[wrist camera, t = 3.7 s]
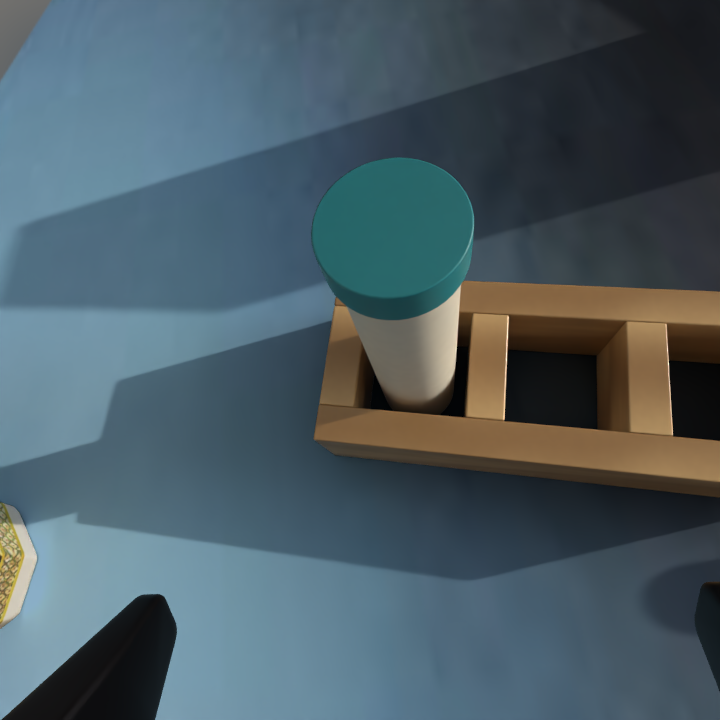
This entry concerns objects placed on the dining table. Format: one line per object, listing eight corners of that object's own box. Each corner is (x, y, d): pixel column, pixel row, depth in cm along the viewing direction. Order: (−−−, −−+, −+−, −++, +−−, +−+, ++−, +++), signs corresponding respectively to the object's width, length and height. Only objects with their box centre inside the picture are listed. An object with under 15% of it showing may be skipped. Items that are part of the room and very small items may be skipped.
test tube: (406, 440, 23) (362, 329, 11) (365, 376, 24) (283, 210, 12) (474, 398, 23) (508, 239, 11) (430, 336, 24) (415, 131, 12)
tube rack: (791, 505, 20) (872, 498, 16) (334, 455, 23) (312, 439, 19) (769, 336, 22) (837, 295, 18) (354, 313, 25) (338, 274, 22)
